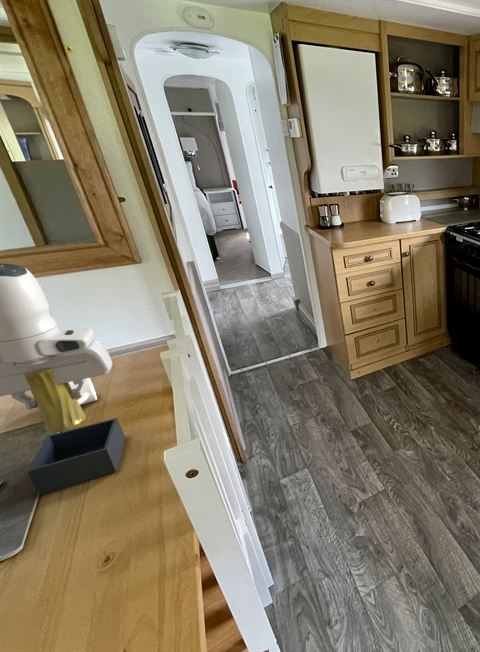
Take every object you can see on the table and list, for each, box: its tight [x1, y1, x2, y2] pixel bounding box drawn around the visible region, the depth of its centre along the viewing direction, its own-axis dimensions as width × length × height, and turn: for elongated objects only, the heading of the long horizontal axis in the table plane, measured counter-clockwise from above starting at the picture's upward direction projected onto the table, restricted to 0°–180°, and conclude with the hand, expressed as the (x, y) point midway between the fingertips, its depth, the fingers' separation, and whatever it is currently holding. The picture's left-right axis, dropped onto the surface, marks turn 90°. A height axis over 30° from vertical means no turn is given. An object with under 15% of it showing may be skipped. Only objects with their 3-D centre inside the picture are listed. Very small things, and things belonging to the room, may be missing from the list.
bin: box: [26, 417, 126, 496], centre depth 85 cm, size 12×12×7 cm
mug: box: [69, 378, 98, 406], centre depth 103 cm, size 12×10×8 cm
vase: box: [24, 368, 87, 433], centre depth 79 cm, size 6×6×14 cm
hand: (57, 401), depth 80 cm, fingers closed on vase, 5 cm apart
